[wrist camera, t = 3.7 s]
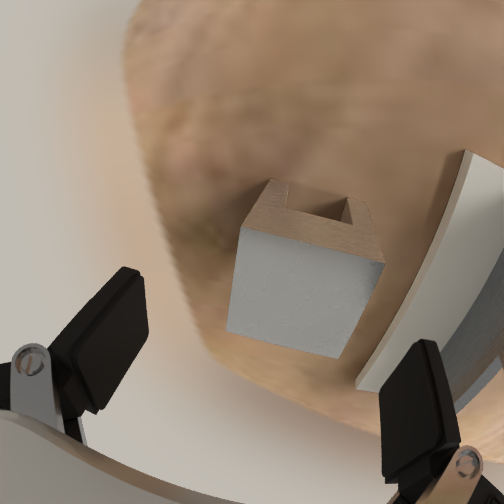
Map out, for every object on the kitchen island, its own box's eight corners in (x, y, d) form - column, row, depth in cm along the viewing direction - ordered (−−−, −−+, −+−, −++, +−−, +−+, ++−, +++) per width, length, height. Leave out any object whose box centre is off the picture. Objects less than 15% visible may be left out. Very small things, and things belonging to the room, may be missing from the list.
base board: (465, 149, 12) (475, 154, 10) (566, 209, 10) (576, 216, 9) (355, 379, 21) (355, 391, 20) (451, 391, 20) (454, 401, 19)
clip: (271, 178, 15) (240, 226, 10) (365, 202, 14) (385, 263, 9) (255, 259, 18) (225, 330, 12) (338, 280, 17) (338, 358, 12)
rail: (528, 183, 10) (601, 239, 5) (540, 191, 10) (610, 247, 5) (403, 396, 20) (408, 467, 14) (415, 397, 19) (421, 466, 14)
